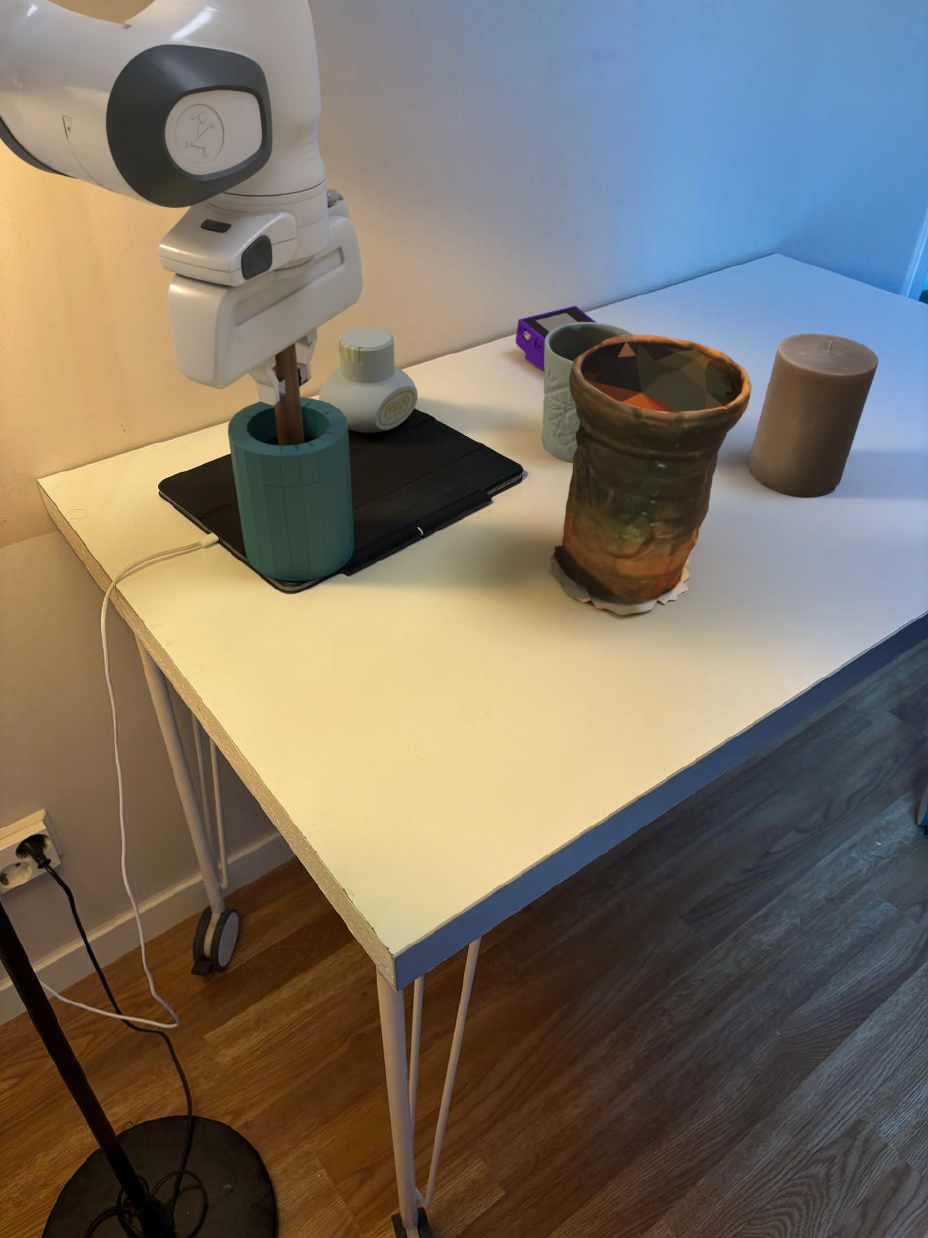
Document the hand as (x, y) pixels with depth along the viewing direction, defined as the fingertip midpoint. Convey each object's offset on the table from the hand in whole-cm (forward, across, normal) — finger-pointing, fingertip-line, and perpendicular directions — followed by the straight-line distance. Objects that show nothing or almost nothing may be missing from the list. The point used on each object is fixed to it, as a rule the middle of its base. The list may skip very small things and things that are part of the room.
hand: (285, 391), depth 79 cm
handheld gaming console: (+16, -48, +9) cm, 51 cm away
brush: (+13, 0, 0) cm, 13 cm away
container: (+16, 0, 0) cm, 16 cm away
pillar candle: (+16, -37, +38) cm, 55 cm away
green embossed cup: (+16, -31, +16) cm, 38 cm away
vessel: (+16, -12, +28) cm, 34 cm away
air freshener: (+16, -24, -7) cm, 30 cm away
